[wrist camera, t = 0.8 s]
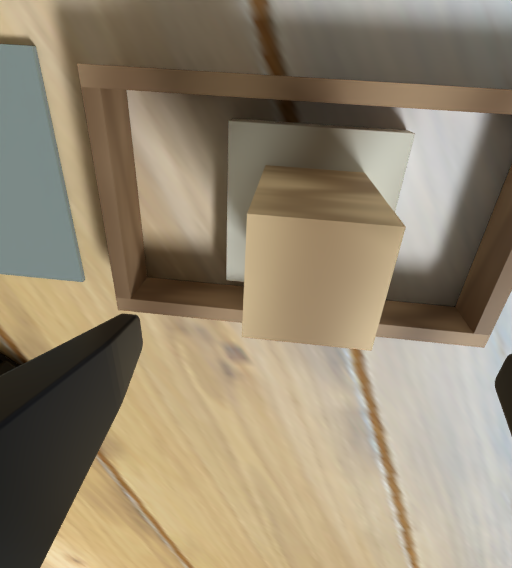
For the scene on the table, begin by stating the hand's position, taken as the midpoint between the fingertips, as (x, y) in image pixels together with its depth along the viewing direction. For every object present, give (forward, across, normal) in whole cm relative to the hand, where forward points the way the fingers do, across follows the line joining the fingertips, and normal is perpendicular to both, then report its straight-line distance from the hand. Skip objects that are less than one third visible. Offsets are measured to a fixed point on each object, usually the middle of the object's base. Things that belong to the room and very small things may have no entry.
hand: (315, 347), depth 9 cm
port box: (+11, 0, 0) cm, 11 cm away
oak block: (+10, 0, 0) cm, 10 cm away
